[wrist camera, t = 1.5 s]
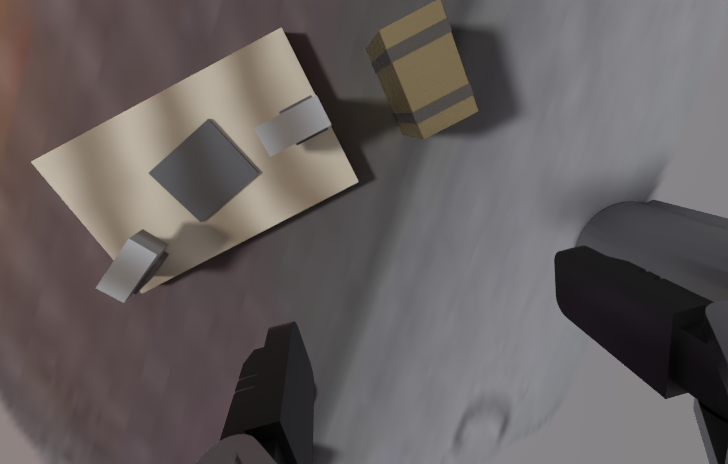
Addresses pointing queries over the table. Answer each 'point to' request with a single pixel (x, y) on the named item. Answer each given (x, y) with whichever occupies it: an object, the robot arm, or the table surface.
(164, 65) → the table surface
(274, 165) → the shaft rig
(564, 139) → the table surface
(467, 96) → the tan rectangular block
